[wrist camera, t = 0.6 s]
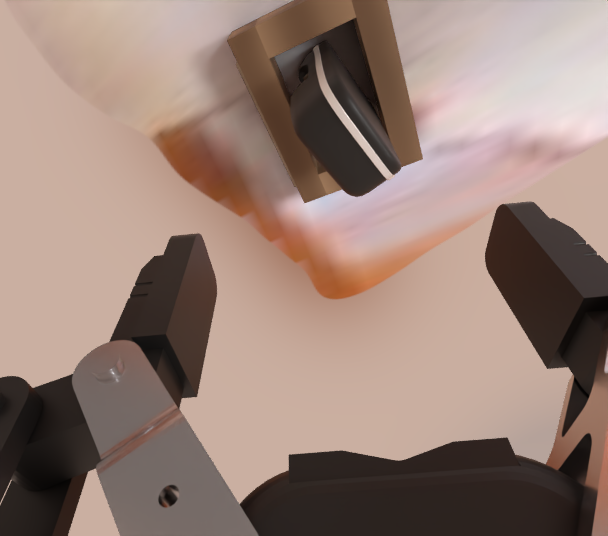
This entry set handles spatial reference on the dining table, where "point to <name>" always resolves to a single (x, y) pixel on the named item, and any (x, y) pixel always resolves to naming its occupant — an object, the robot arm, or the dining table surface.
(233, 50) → the frame
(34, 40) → the dining table surface
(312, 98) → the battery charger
